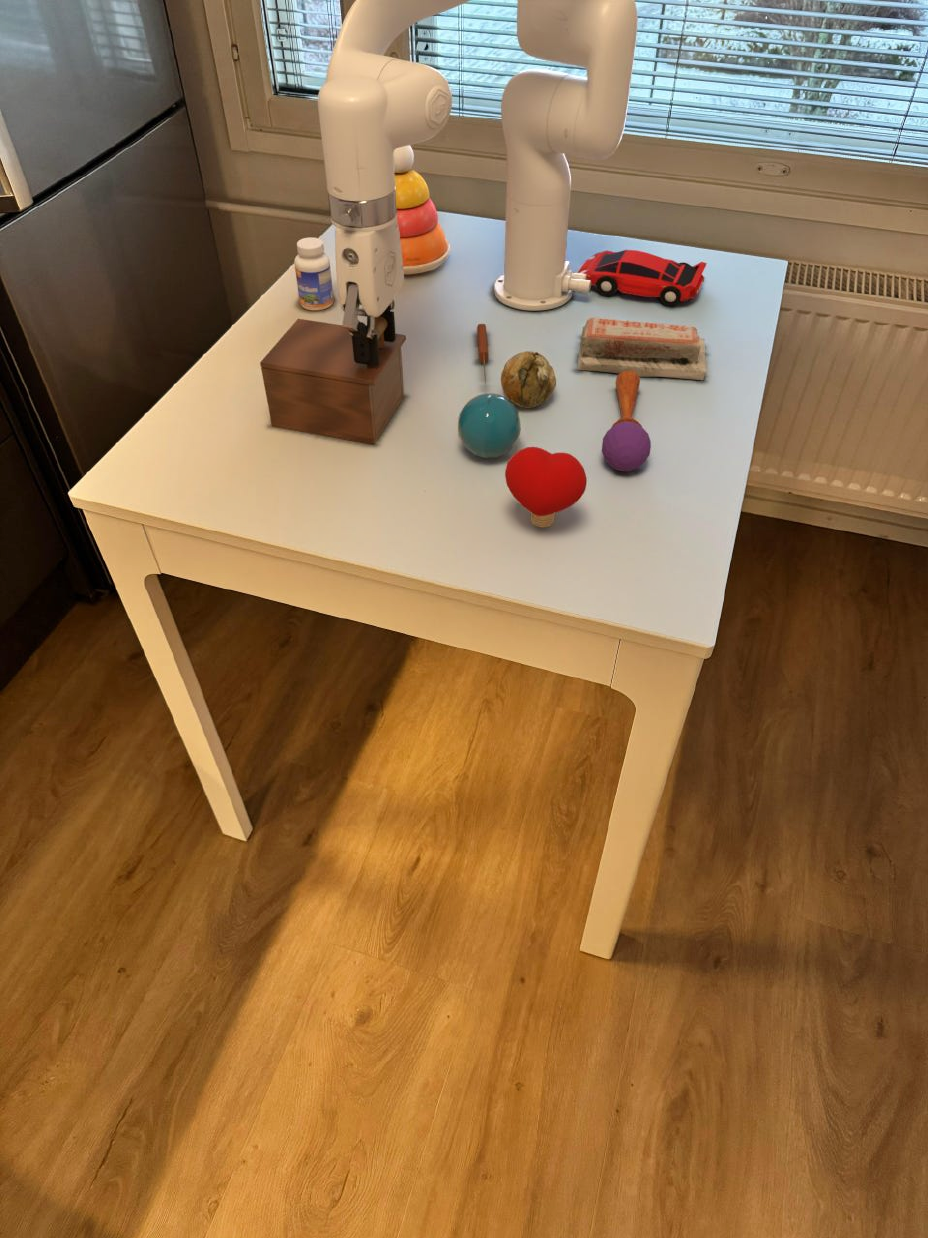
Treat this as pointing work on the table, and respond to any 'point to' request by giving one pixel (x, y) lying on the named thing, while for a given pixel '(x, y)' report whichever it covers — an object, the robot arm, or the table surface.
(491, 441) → the ball
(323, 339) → the lid
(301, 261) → the pill bottle
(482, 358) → the brown screwdriver
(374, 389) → the chest
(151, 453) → the table surface
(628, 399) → the purple maraca
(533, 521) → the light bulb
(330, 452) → the table surface
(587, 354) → the packaged product
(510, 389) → the cracked brown sphere
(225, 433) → the table surface
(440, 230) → the stacking toy
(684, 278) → the toy car
